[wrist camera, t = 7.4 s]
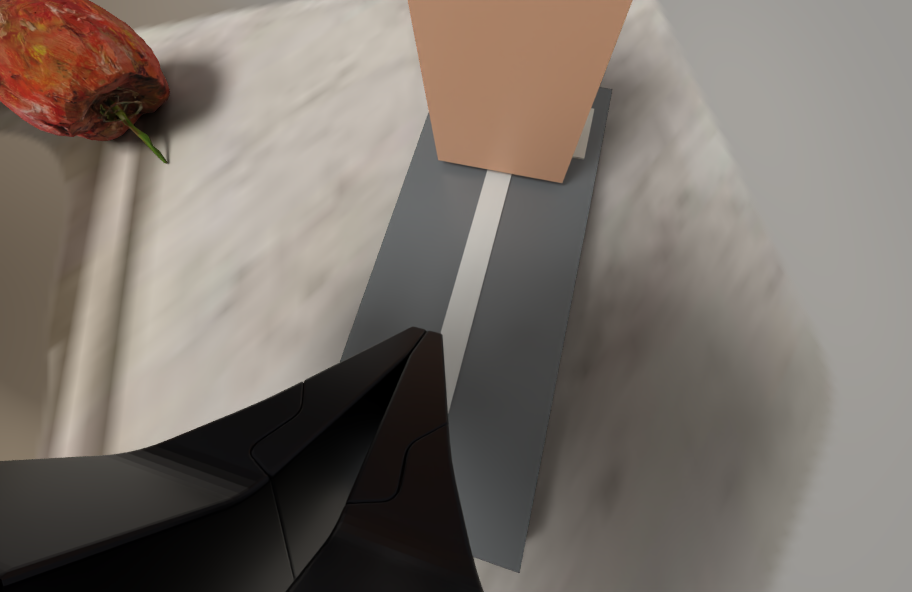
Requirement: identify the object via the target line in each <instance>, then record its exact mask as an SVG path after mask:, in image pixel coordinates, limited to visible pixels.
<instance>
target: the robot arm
mask: <svg viewBox="0 0 912 592" xmlns="http://www.w3.org/2000/svg"><path fill="white" fill-rule="evenodd" d="M448 425H449V421H448V407H447V392H446V377H445V363H444V348H443V335H442V334H441V333H438V332H434V331H430V330H429V331H427V330H426V329H423V328H419V327H415V326H412V327H410V328H408V329H406V330H404V331H402V332H400V333H398V334H396V335H394V336H392V337H390V338H388V339H386V340H384V341H382V342H380V343H378V344H376V345H374V346H372V347H370V348H368V349H366V350H364V351H362V352H360V353H358V354H356V355H354V356H352V357H350V358H348V359H346V360H344V361H342V362H340V363H338V364H336V365H334V366H332V367H330V368H328V369H326V370H324V371H322V372H320V373H318V374H316V375H314V376H312V377H310V378H308V379H306V380H305V381H304V383H303V382H300V383H298V384H296V385H294V386H292V387H290V388H288V389H286V390H284V391H282V392H280V393H278V394H276V395H274V396H271V397H269V398H267V399H265V400H263V401H261V402H258V403H256V404H254V405H251V406H249V407H247V408H244V409H242V410H240V411H237V412H235V413H233V414H230V415H228V416H225V417H223V418H220V419H218V420H215V421H213V422H211V423H208V424H206V425H203V426H201V427H198V428H196V429H193V430H191V431H189V432H186V433H184V434H181V435H179V436H176V437H174V438H171V439H169V440H167V441H164V442H161V443H158V444H156V445H153V446H150V447H146V448H143V449H140V450H135V451H131V452H127V453H120V454H113V455H102V456H84V457H66V458H48V459H31V460H12V461H0V592H484V591H483V589H482V586H481V583H480V580H479V577H478V573H477V570H476V566H475V563H474V559H473V555H472V551H471V547H470V543H469V538H468V534H467V529H466V525H465V520H464V516H463V511H462V507H461V502H460V498H459V493H458V489H457V484H456V479H455V474H454V468H453V463H452V455H451V446H450V434H449V426H448Z"/></svg>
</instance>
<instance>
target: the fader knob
mask: <svg viewBox="0 0 912 592" xmlns="http://www.w3.org/2000/svg"><path fill="white" fill-rule="evenodd" d="M631 3H632V0H408V4H409V9H410V15H411V20H412V25H413V30H414V36H415V41H416V46H417V51H418V57H419V62H420V67H421V72H422V78H423V83H424V88H425V93H426V99H427V104H428V109H429V114H430V120H431V125H432V130H433V135H434V141H435V146H436V151H437V156H438V160H440V161H446V162H451V163H456V164H462V165H467V166H472V167H478V168H483V169H489V170H494V171H499V172H505V173H510V174H515V175H521V176H526V177H531V178H537V179H542V180H548V181H553V182H558V183H563V180H564V177H565V175H566V172H567V170H568V167H569V164H570V162H571V159H572V157H573V154H574V151H575V149H576V146H577V144H578V141H579V138H580V136H581V133H582V131H583V128H584V125H585V123H586V120H587V117H588V115H589V112H590V110H591V107H592V104H593V102H594V99H595V97H596V94H597V91H598V89H599V86H600V84H601V81H602V78H603V76H604V73H605V71H606V68H607V65H608V63H609V60H610V58H611V55H612V52H613V50H614V47H615V45H616V42H617V39H618V37H619V34H620V32H621V29H622V26H623V24H624V21H625V19H626V16H627V13H628V11H629V8H630V5H631Z"/></svg>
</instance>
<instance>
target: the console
mask: <svg viewBox="0 0 912 592" xmlns="http://www.w3.org/2000/svg"><path fill="white" fill-rule="evenodd" d="M611 94H612V89H607V88H601V87H599V89H598V91H597V94H596V97H595V99H594V102H593V104H592V107H591V110H590V112H589V115H588V117H587V120H586V123H585V125H584V128H583V131H582V133H581V136H580V138H579V141H578V144H577V146H576V149H575V151H574V154H573V157H572V159H571V162H570V164H569V167H568V170H567V172H566V175H565V177H564V180H563V183H558V182H553V181H548V180H542V179H537V178H531V177H526V176H521V175H515V174H510V173H505V172H499V171H494V170H489V169H483V168H478V167H472V166H467V165H462V164H456V163H451V162H446V161H440V160H438V156H437V151H436V146H435V141H434V135H433V130H432V125H431V120H430V114H429V113H428V116H427V118H426V121H425V124H424V127H423V130H422V132H421V135H420V138H419V141H418V144H417V147H416V149H415V152H414V155H413V158H412V161H411V163H410V166H409V169H408V172H407V175H406V177H405V180H404V183H403V186H402V189H401V192H400V194H399V197H398V200H397V203H396V206H395V208H394V211H393V214H392V217H391V220H390V223H389V225H388V228H387V231H386V234H385V237H384V239H383V242H382V245H381V248H380V251H379V253H378V256H377V259H376V262H375V265H374V268H373V270H372V273H371V276H370V279H369V282H368V284H367V287H366V290H365V293H364V296H363V298H362V301H361V304H360V307H359V310H358V313H357V315H356V318H355V321H354V324H353V327H352V329H351V332H350V335H349V338H348V341H347V344H346V346H345V349H344V352H343V355H342V358H341V360H340V362H342V361H344V360H346V359H348V358H350V357H352V356H354V355H356V354H358V353H360V352H362V351H364V350H366V349H368V348H370V347H372V346H374V345H376V344H378V343H380V342H382V341H384V340H386V339H388V338H390V337H392V336H394V335H396V334H398V333H400V332H402V331H404V330H406V329H408V328H410V327H412V326H415V327H419V328H423V329H426V330H427V331H429V330H430V331H434V332H438V333H441V334H442V335H443V348H444V363H445V377H446V392H447V407H448V421H449V425H448V426H449V434H450V446H451V455H452V463H453V468H454V474H455V479H456V484H457V489H458V493H459V498H460V502H461V507H462V511H463V516H464V520H465V525H466V529H467V534H468V538H469V543H470V547H471V551H472V555H473V557H475V558H478V559H481V560H484V561H486V562H489V563H492V564H495V565H498V566H501V567H503V568H506V569H509V570H512V571H515V572H517V573H520V568H521V562H522V557H523V552H524V547H525V542H526V536H527V531H528V526H529V521H530V516H531V510H532V505H533V500H534V495H535V490H536V484H537V479H538V474H539V469H540V463H541V458H542V453H543V448H544V443H545V437H546V432H547V427H548V422H549V417H550V411H551V406H552V401H553V396H554V391H555V385H556V380H557V375H558V370H559V365H560V359H561V354H562V349H563V344H564V339H565V333H566V328H567V323H568V318H569V313H570V307H571V302H572V297H573V292H574V287H575V281H576V276H577V271H578V266H579V261H580V255H581V250H582V245H583V240H584V235H585V229H586V224H587V219H588V214H589V209H590V203H591V198H592V193H593V188H594V183H595V177H596V172H597V167H598V162H599V157H600V151H601V146H602V141H603V136H604V131H605V125H606V120H607V115H608V110H609V105H610V99H611Z"/></svg>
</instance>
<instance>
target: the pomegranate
mask: <svg viewBox="0 0 912 592" xmlns="http://www.w3.org/2000/svg"><path fill="white" fill-rule="evenodd" d="M169 94H170V91H169V86H168V83H167V81H166V79H165V77H164V75H163V73H162V71H161V69H160V64H159V61H158V59H157V58H156V56H155V55H154V53H153V51H152V49H151V48H150V47H149V46H148V45H147V44H146V43H145V41H144V40H143V39H142V38H141V37H140V36H139V35H138V34H136V33H135V31H134V30H133V29H132V28H131V27H130V26H128V25H127V24H126V23H125V22H123V21H121V20H119V19H118V18H117V17H115V16H114V15H112V14H111V13H109V12H108V11H106V10H105V9H103V8H101V7H100V6H98V5H96V4H94V3H93V2H91V1H89V0H0V101H1V102H2V103H3V104H4V105H6V106H7V107H8V108H9V109H11V110H12V111H13V112H14V113H16V114H17V115H18V116H19V117H21V118H22V119H23V120H25V121H26V122H28V123H29V124H31V125H33V126H34V127H36V128H38V129H40V130H42V131H45V132H49V133H52V134H55V135H59V136H69V137H74V136H80V137H84V138H87V139H90V140H98V141H108V140H112V139H115V138H117V137H119V136H121V135H123V134H124V133H125V132H126V131H127V130H128V129H129V128H130V129H131V130H132V131H133V132H134V133H135V134H136V135H137V136H138V137H139V138H140V139H141V140H142V141H143V142H144V143H145V144H146V145H147V146H148V147H149V148H150V149H151V150H152V151H153V152H154V153H155V154H156V155H157V156H158V158H159V159H161V160H162V161H163V162H164V163H168V162H167V161H166V159H165V158H164V157H163V155H162V154H161V152H160V151H159V150H158V149H156V148H155V147H154V146H153V145H152V142H151V140H150V138H149V136H148V135H147V134H145V133H143V132H142V131H140V130H138V129H137V128H136V127H135V126H134V123H136V121H137V119H138V118H139V117H140V116H141V115H142V114H145V113H153V112H155V111H156V110H157V108H158V107H160V106H161V105H162V104H163V103H164V102H165V101H167V100H168V97H169Z"/></svg>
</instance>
